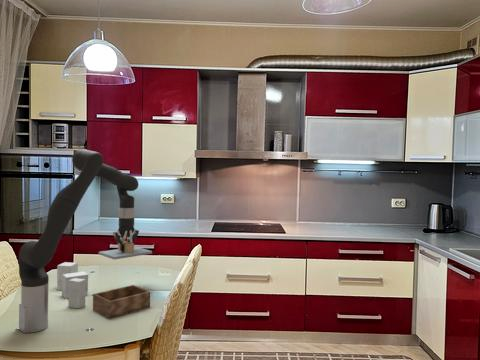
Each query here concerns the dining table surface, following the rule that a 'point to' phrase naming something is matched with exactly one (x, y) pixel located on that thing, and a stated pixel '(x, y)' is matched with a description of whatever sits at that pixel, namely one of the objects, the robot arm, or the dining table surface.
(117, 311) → the box
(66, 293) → the skincare box
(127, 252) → the lid
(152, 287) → the dining table surface
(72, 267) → the supplement box
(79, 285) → the skincare box
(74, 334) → the dining table surface
